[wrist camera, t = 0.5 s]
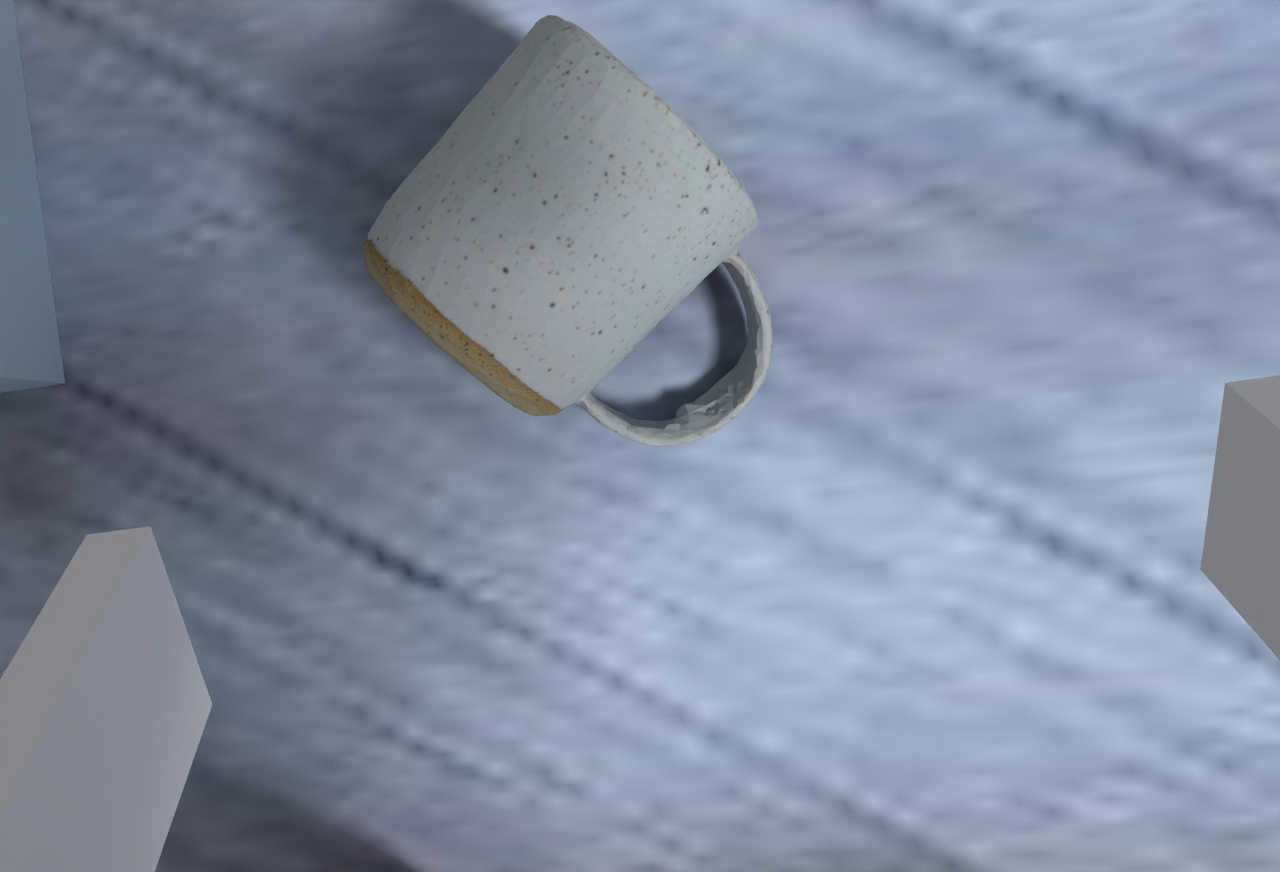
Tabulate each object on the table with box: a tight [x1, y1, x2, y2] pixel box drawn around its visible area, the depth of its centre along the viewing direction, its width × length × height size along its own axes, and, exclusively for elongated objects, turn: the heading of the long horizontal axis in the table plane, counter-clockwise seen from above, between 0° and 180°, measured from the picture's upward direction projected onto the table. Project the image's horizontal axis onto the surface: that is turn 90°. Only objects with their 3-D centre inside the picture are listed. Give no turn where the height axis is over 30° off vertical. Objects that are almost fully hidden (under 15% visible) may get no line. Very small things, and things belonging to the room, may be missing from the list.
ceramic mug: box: [364, 15, 772, 446], centre depth 32 cm, size 11×8×8 cm
